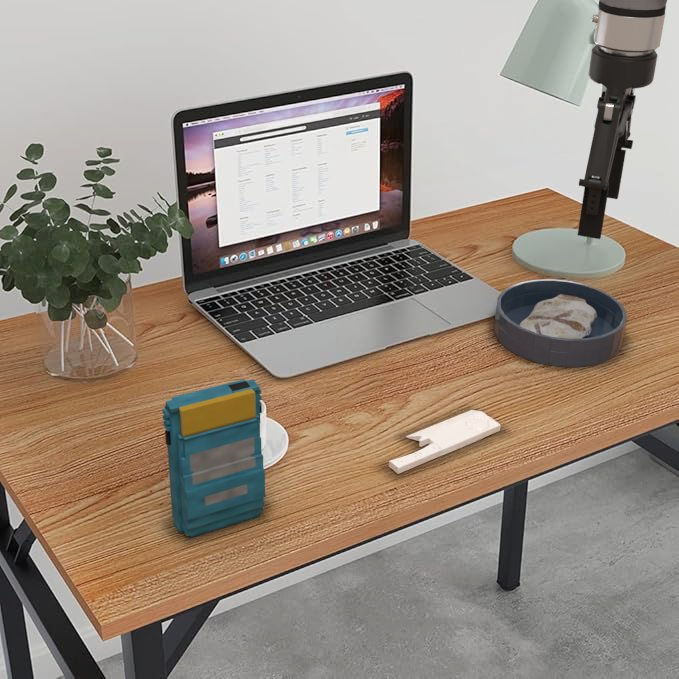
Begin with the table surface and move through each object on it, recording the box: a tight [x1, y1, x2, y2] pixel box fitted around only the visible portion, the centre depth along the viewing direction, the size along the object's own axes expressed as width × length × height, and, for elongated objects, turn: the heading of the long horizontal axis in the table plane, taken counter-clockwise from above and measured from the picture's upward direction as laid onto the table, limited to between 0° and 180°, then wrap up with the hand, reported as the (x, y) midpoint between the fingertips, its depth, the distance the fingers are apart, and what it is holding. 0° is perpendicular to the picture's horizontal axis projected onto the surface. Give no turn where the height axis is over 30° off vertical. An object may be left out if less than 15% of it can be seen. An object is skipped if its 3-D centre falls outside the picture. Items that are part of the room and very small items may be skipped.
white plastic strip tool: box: [388, 409, 502, 475], centre depth 121 cm, size 5×15×1 cm, turn 124°
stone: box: [520, 294, 597, 339], centre depth 143 cm, size 12×9×3 cm
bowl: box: [493, 278, 628, 368], centre depth 143 cm, size 17×17×4 cm
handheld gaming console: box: [161, 378, 266, 539], centre depth 105 cm, size 10×4×15 cm, turn 118°
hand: (598, 215), depth 135 cm, fingers open, 13 cm apart
